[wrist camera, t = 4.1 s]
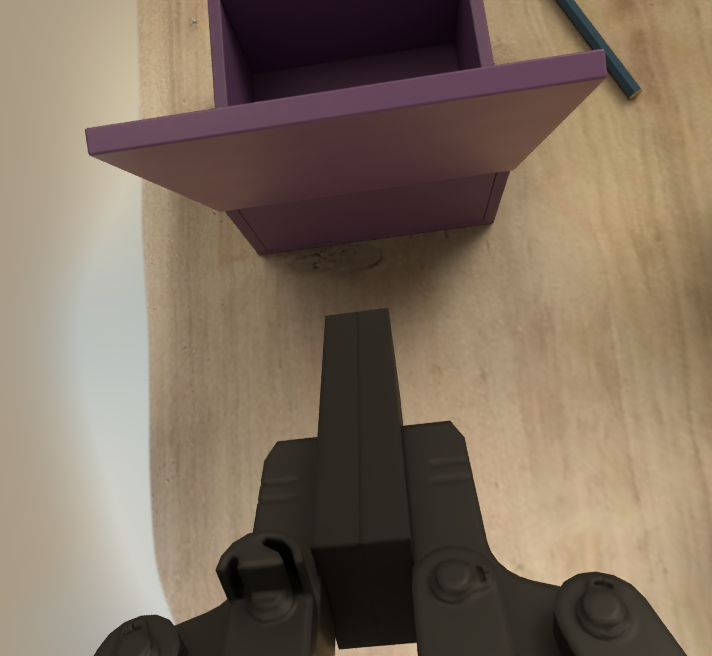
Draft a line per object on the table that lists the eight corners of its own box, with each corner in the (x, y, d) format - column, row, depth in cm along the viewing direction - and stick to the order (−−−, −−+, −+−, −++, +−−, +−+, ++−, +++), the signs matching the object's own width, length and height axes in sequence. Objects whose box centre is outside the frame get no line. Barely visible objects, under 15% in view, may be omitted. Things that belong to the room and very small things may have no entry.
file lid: (83, 127, 20) (87, 155, 20) (605, 47, 19) (608, 77, 19) (217, 196, 36) (219, 212, 36) (512, 153, 35) (514, 170, 35)
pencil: (627, 100, 45) (514, -52, 48) (639, 94, 45) (525, -58, 48) (631, 93, 44) (516, -61, 47) (644, 87, 44) (527, -67, 47)
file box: (244, 73, 48) (206, -11, 39) (463, 38, 47) (473, -56, 38) (258, 255, 45) (221, 207, 36) (493, 223, 44) (512, 166, 35)
